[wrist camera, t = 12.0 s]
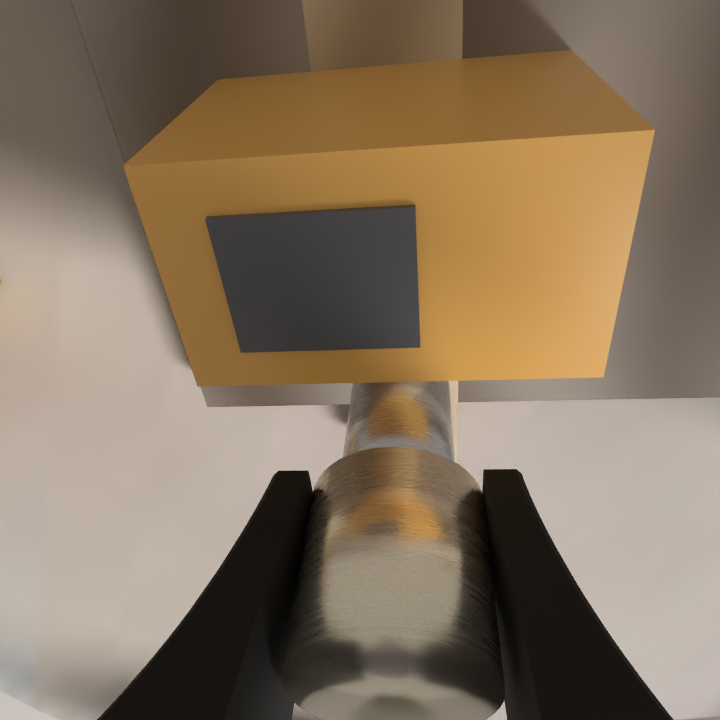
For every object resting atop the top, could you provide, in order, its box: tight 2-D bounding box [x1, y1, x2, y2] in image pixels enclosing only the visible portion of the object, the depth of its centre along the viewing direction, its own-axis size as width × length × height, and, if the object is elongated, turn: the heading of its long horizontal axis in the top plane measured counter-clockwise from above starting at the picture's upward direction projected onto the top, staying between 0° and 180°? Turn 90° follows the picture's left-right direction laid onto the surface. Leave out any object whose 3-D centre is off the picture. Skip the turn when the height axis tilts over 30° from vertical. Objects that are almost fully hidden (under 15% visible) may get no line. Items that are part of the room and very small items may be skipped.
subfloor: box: [70, 0, 720, 462], centre depth 13 cm, size 20×19×1 cm
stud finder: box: [123, 50, 655, 386], centre depth 11 cm, size 7×4×5 cm, turn 95°
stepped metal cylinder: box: [282, 381, 505, 720], centre depth 12 cm, size 3×3×7 cm
